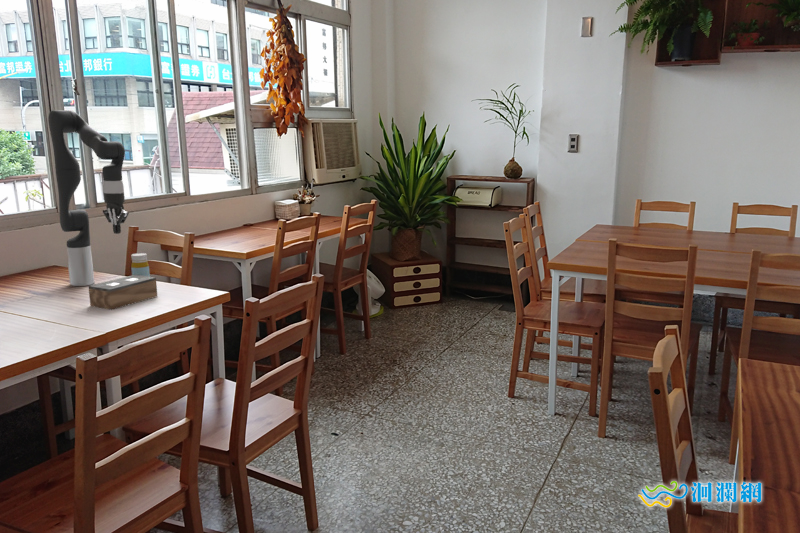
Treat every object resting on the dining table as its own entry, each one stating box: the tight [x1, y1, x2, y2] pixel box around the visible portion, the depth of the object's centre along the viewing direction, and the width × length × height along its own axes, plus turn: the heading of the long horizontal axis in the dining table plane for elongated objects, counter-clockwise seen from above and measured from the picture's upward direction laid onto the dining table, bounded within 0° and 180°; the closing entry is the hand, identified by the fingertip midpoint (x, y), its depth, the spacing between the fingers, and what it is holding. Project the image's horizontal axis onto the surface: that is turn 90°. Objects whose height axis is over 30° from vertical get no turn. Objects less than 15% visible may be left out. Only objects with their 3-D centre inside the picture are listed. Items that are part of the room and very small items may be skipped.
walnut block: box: [87, 274, 158, 311], centre depth 239 cm, size 12×22×8 cm, turn 154°
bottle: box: [130, 252, 151, 277], centre depth 259 cm, size 7×7×15 cm
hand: (117, 233), depth 246 cm, fingers closed
